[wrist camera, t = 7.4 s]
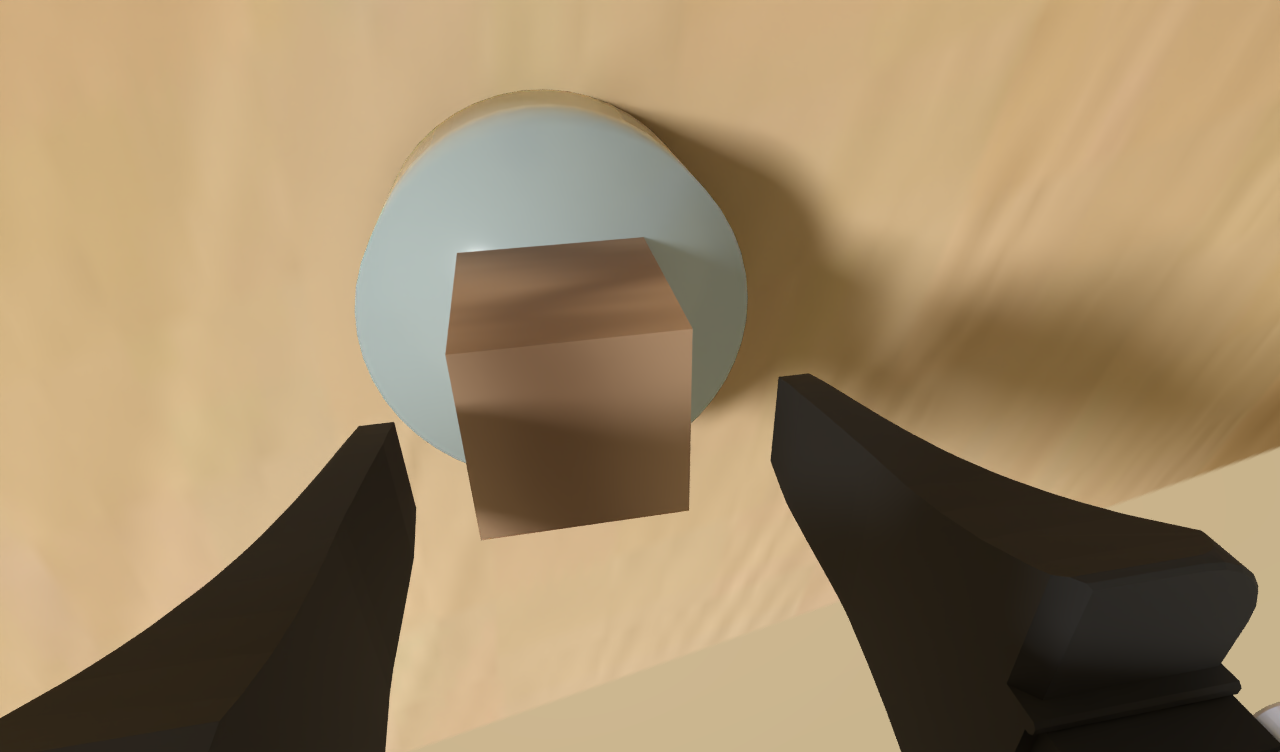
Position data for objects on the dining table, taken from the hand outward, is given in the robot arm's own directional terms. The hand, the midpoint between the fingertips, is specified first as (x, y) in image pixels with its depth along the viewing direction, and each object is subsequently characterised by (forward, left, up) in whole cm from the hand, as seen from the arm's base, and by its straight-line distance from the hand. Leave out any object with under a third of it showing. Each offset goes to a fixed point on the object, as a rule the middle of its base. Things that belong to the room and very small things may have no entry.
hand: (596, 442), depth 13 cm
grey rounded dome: (0, 0, -11) cm, 11 cm away
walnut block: (0, 0, -6) cm, 6 cm away
